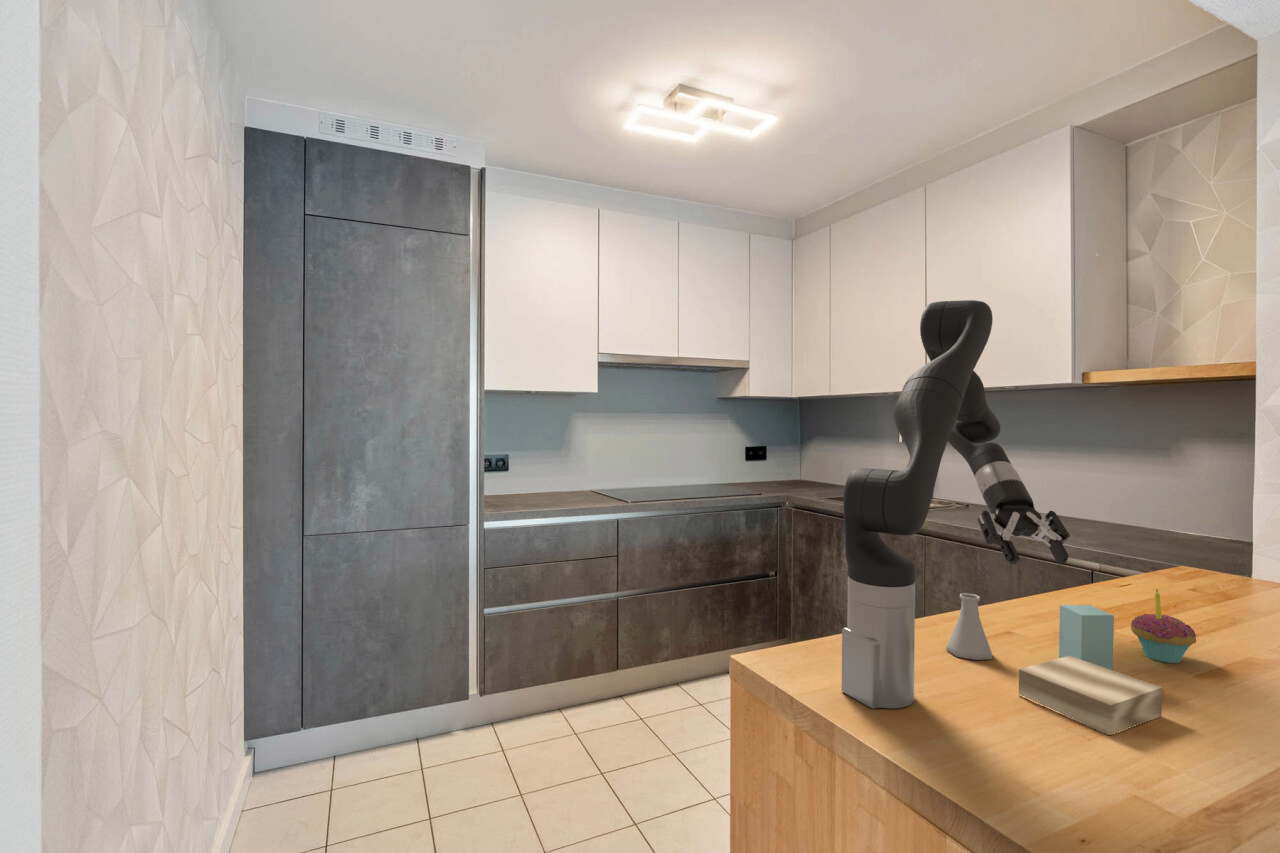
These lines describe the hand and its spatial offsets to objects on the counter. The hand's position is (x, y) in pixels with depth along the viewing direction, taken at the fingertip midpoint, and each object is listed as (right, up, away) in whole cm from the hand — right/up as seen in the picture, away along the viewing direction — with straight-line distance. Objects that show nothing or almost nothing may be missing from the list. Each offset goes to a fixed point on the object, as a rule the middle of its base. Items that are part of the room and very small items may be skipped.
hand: (1039, 562), depth 109 cm
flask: (-14, -15, -3) cm, 21 cm away
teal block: (0, -15, -11) cm, 19 cm away
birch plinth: (-8, -15, -22) cm, 28 cm away
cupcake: (+17, -15, -5) cm, 24 cm away
